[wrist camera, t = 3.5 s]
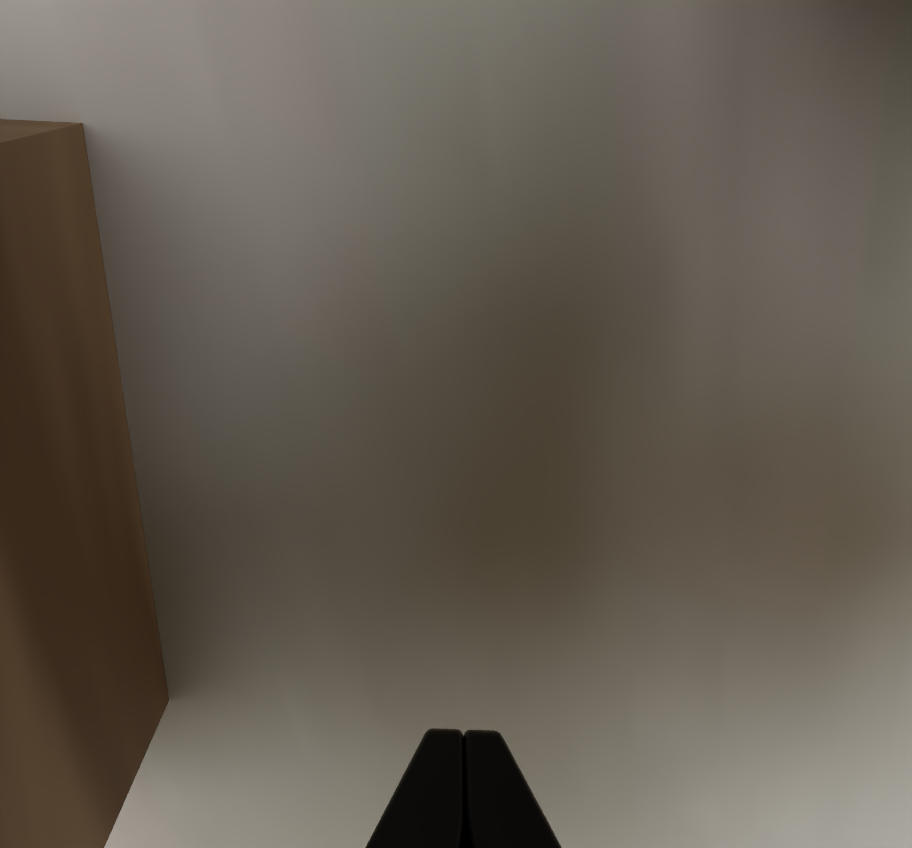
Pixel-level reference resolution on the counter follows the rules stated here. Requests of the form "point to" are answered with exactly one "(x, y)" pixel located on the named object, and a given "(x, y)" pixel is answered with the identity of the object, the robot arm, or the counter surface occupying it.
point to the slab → (66, 514)
